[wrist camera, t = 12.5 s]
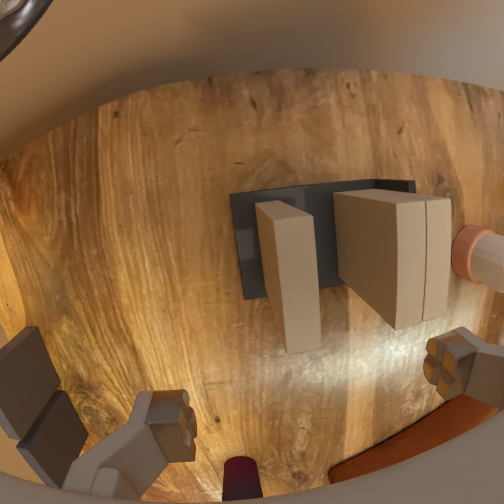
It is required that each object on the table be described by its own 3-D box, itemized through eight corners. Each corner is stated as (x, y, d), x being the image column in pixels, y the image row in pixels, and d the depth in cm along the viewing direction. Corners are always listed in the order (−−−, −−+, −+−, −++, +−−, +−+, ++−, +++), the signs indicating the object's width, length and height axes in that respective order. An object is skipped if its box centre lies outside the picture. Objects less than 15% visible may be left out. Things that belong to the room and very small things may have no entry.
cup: (265, 453, 40) (278, 533, 25) (258, 476, 41) (267, 549, 27) (220, 451, 39) (221, 533, 25) (216, 474, 41) (217, 549, 26)
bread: (480, 413, 44) (519, 456, 29) (342, 495, 45) (363, 553, 30) (481, 372, 41) (532, 418, 25) (321, 468, 42) (344, 539, 27)
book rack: (229, 194, 31) (230, 206, 17) (376, 178, 32) (458, 183, 18) (244, 296, 34) (254, 371, 20) (380, 274, 34) (451, 324, 21)
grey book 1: (25, 327, 33) (-28, 375, 20) (37, 326, 33) (-17, 377, 20) (48, 381, 35) (8, 438, 22) (60, 382, 35) (21, 441, 22)
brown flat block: (254, 203, 30) (272, 220, 18) (278, 200, 31) (313, 215, 18) (265, 289, 33) (286, 355, 20) (288, 286, 33) (321, 349, 20)
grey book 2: (53, 390, 35) (15, 447, 23) (65, 391, 35) (28, 450, 23) (76, 433, 37) (50, 490, 25) (88, 434, 37) (63, 493, 25)
